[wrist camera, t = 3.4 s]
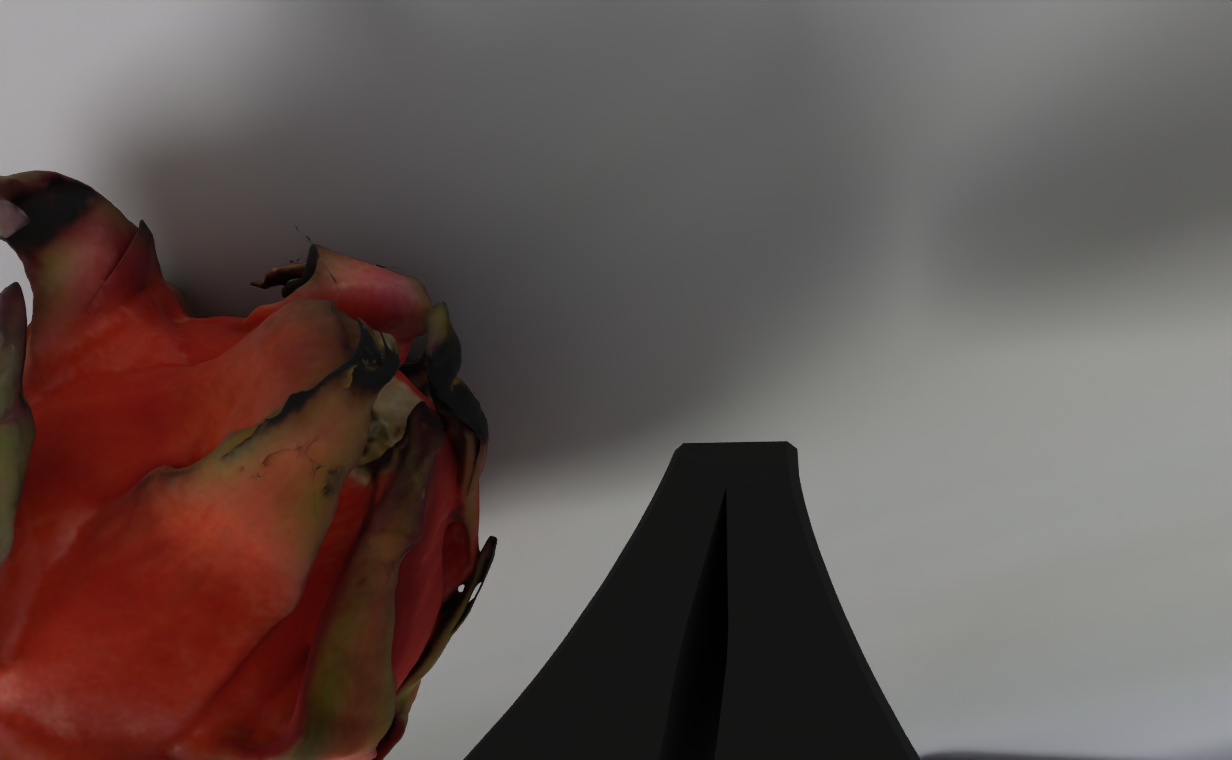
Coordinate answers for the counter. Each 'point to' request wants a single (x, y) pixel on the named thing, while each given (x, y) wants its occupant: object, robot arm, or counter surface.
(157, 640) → the dragon fruit
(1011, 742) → the counter surface
